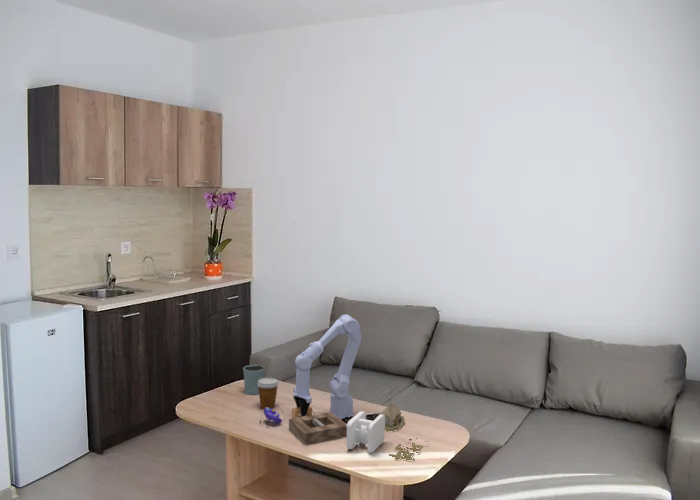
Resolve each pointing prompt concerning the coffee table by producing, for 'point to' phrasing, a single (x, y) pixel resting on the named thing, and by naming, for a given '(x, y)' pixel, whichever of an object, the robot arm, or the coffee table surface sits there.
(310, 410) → the tan rectangular block
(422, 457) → the coffee table surface
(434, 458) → the coffee table surface
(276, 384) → the disposable coffee cup
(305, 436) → the brown piece
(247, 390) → the teal cup
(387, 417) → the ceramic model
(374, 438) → the cable organizer
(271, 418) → the game controller
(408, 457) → the lettering
